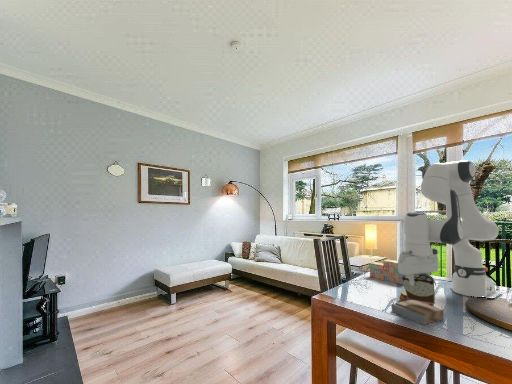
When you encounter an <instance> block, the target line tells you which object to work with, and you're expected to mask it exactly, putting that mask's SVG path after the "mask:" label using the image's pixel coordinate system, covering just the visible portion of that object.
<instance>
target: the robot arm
mask: <svg viewBox="0 0 512 384" xmlns="http://www.w3.org/2000/svg"><path fill="white" fill-rule="evenodd" d="M475 176H476V167H475V165H474V163H473V162H471V161H470V160H466V159H465V160H458V161H450V162H444V163H442V162H441V163H440V162H435V163H432V164H431V165H429V166H428V167H425V168H424V169H423V170H422V173H421V178H422V181H421V186H420V192H421V194H422V196H424V197H425V198H426V199H427V200H429V201H432V202H436V203H439V204H442V205H445V209H446V218H445V219H428V216H427V213H426V212H423V211H411V212H408V213H406V214H405V216H404V222H403V223H404V224H403V225H404V226H403V228H404V229H403V230H404V231H403V232H404V236H405V240H404V250H405V251H401V253H400V254H399V255H398V256H399V257H398V260H397V261H398V272H399V274H402V275H406V276H407V277H408V279H409V283H410V285H413V286H414V285H416V281H414V278H413V277H414V274H422V273H424V274H428V275H430V276H431V273H436V272H438V271H439V266H440V265H439V264H440V263H439V257H438V255H439V250H438V249H437V248H434V247H432V246H431V243H437V244H438V243H439V244H440V243H441V244H445V245H451V247H452V250H453V255H454V256H453V257H454V264H453V269H454V273H452V280H451V281H452V285H450V286H449V289H451V290H452V291H453V292H454V293H456V294H459V295H463V296H466V297H471V296H472V298H477V297H482V296H484V297H492V296H493V297H495V296H497V295H498V294H500V293H502V292H501V291H500V290H496V287H495V285H496V284H495V282H494V281H493V280H492V279H491V278H490V277H489V276H488V275H487V273H486V272H488V270H489V269H488V267H485V266H484V265H483V254H482V252H481V251H480V250H479V248H476V247H475V246H473V245H472V244H471V243H470V241H469V240H472V241H481V242H482V241H484V242H485V241H494V240H495V239H496V238H498V235H499V234H500V232H499V227H498V225H497V223H495V222H494V221H493V220H491V219H489V218H488V217H487V216H484V215H483V214H482V213H481V211H480V210H479V209H478V207H477V205H476V203H475V198H474V195H473V194H474V193H473V190H472V187H471V184H470V181H472V180H473V179H474V178H475ZM473 296H474V297H473Z"/></svg>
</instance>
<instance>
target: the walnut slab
mask: <svg viewBox="0 0 512 384" xmlns="http://www.w3.org/2000/svg"><path fill="white" fill-rule="evenodd" d="M395 303H396V305H399V306H401V307H404V308H406V309H409V310H411V311H414V312H416V313H419V314H421V315H424V316H426V319H427V324H428V323H429V324H431V323H433V322H437V321H443V320H444V310H443V309H441V308H439V307H436V306H434V307H433V306H430V305H428V304H425V303H422V302H419V301H415V300H409V301H398V303H397V302H395Z"/></svg>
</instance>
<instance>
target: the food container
mask: <svg viewBox="0 0 512 384" xmlns="http://www.w3.org/2000/svg"><path fill="white" fill-rule="evenodd" d="M413 278H414V281H416V285H414V286H413V285H410V283H409V279H408V277H407V276H406V275H402V276H401V281H403V284H404V285H403V287H404V291H405V292H406V294H407V297H408V299H410V300H415V301H421V302H426V303H431V304H434V305H436V297H435V296H436V293H435V286H437V283H436V280H435V279H434V277H433V276H432V275H431V274H430V275H428V274H424V273H422V274H414V277H413Z"/></svg>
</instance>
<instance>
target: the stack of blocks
mask: <svg viewBox="0 0 512 384" xmlns="http://www.w3.org/2000/svg"><path fill="white" fill-rule="evenodd" d="M368 266H369V277H370V278H373V279H376V280H381V281H384V282H391V283H395V284H398V285H403V286H404V284H403V281H401V276H402V274H399V272H398V260H392V259H385V260H383V262H377V261H372V262H369V265H368Z"/></svg>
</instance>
